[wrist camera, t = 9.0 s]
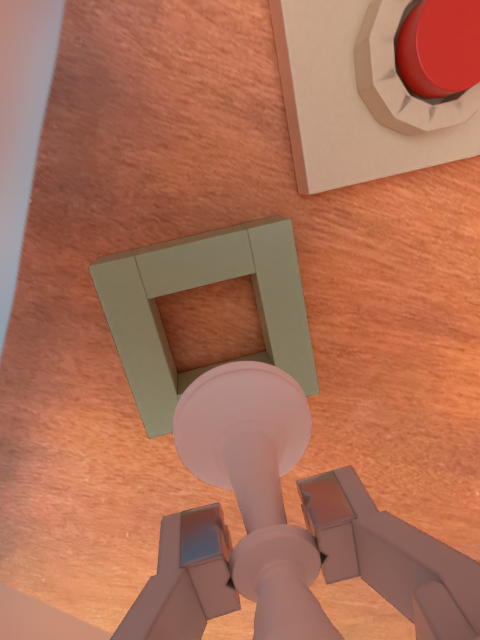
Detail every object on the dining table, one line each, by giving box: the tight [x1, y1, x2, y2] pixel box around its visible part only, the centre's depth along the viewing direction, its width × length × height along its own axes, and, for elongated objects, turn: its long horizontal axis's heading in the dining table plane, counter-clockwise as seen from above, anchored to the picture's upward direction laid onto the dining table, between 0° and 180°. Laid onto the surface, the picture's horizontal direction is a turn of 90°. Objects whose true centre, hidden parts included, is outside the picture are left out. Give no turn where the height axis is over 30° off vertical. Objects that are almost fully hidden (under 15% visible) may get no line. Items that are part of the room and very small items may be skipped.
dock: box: [88, 215, 320, 439], centre depth 24 cm, size 11×11×3 cm
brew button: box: [396, 0, 480, 99], centre depth 18 cm, size 4×4×2 cm
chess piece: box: [173, 361, 344, 640], centre depth 9 cm, size 5×5×10 cm
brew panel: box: [268, 0, 480, 195], centre depth 21 cm, size 14×11×4 cm
